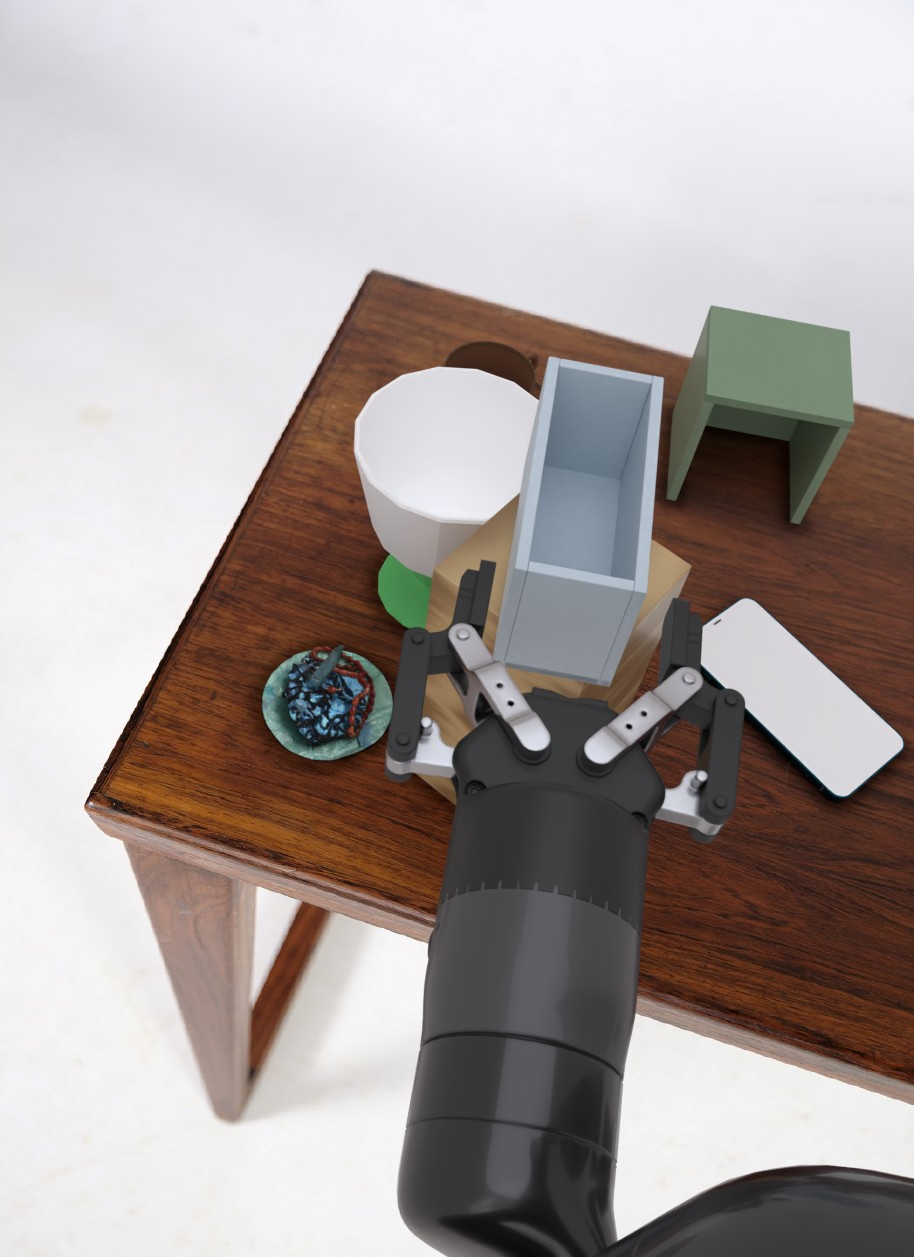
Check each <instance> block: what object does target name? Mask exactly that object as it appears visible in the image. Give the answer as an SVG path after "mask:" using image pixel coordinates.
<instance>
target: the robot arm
mask: <svg viewBox="0 0 914 1257" xmlns="http://www.w3.org/2000/svg"><path fill="white" fill-rule="evenodd" d="M496 563H497V562H493V561H488V560H483V559H481V563H480V568H479V571H477V570H472V569H467V570H466V571H465V573H464V574H463V575H462V577H461V581H460V586H459V591H458V596H457V601H456V606H455V610H454V615H453V620H452V623H451V625H450V626H449V627H448V628H447V629H445V630H443V631H440V632H431V633H429V631H427V630H426V629H424V628H421V627H413V628H407V630H406V631H405V632H404V634H403V636H402V642H401V649H400V653H399V654H400V655H399V662H398V668H397V674H396V681H395V688H394V695H393V699H392V701H393V707H392V713H391V719H390V722H389V725H388V727H389V728H388V733H387V739H386V740H387V741H386V747H385V748H386V749H385V756H384V758H385V759H384V765H383V771H384V774H385V776H386V777H387V778H388V779H389V780H390V781H392V782H394V783H404V782H407V781H409V780H410V779H411V778H412V777H413V775H414V774H416V773H418V774H425V775H432V776H439V777H446V778H451V781H452V784H453V786H454V788H455V792H456V799H457V800H456V806H455V808H454V814H453V817H452V818H453V819H452V825H451V830H450V835H449V841H448V847H447V852H446V859H445V863H444V869H443V874H442V880H441V885H440V891H439V897H438V904H437V908H436V913H435V919H434V926H433V930H432V931H431V933H430V935H429V939H428V944H427V964H426V969H425V976H424V984H423V995H422V1021H421V1022H422V1023H421V1034H420V1044H419V1051H418V1056H417V1060H416V1061H417V1062H416V1066H415V1074H414V1078H413V1084H412V1089H411V1094H410V1099H409V1100H410V1101H409V1105H408V1112H407V1117H406V1124H405V1129H404V1135H403V1142H402V1146H401V1152H400V1153H401V1154H400V1159H399V1166H398V1172H397V1181H396V1183H397V1184H396V1203H397V1208H398V1212H399V1215H400V1218H401V1220H402V1222H403V1224H404V1225H405V1227H406V1228H407V1229H408V1230H409V1231H410V1232H411V1233H412V1235H414V1236H415V1237H416V1238H417V1239H419V1240H420V1241H421V1242H423V1243H425V1244H426V1245H427V1246H428V1247H430V1248H432V1249H433V1250H435V1251H437V1252H439V1253H440V1254H442V1255H444V1256H445V1257H914V1177H909V1176H904V1175H899V1174H895V1173H890V1172H886V1171H880V1170H876V1169H868V1168H860V1167H851V1166H850V1167H849V1166H843V1165H842V1166H840V1165H832V1164H797V1165H796V1164H795V1165H789V1166H781V1167H773V1168H768V1169H763V1170H759V1171H754V1172H751V1173H747V1174H742V1175H740V1176H736V1177H733V1178H729V1179H727V1180H723V1181H721V1182H720V1183H718V1184H715V1185H714V1186H711V1187H709V1188H706V1189H704V1190H702V1191H700V1192H698V1193H697V1194H695V1195H694V1196H692V1197H690V1198H688V1199H687V1200H685V1201H683V1202H681V1203H679V1204H678V1205H676V1206H674V1207H672V1208H670V1209H669V1210H667V1211H666V1212H664V1213H662V1214H660V1215H659V1216H657V1217H655V1218H654V1219H652V1220H651V1221H649V1222H647V1223H645V1224H643V1225H642V1226H640V1227H639V1228H637V1229H635V1230H634V1231H632V1232H630V1233H628V1234H626V1235H625V1236H623V1237H621V1238H620V1239H619V1238H618V1232H617V1225H616V1218H615V1209H614V1207H615V1206H614V1204H615V1203H614V1200H615V1199H614V1198H615V1189H616V1188H615V1187H616V1176H617V1163H618V1155H619V1144H620V1143H619V1142H620V1129H621V1117H622V1102H623V1092H624V1091H623V1090H624V1083H623V1082H624V1078H625V1070H626V1063H627V1058H628V1053H629V1048H630V1044H631V1040H632V1036H633V1030H634V1025H635V1021H636V1020H635V1019H636V1012H637V1006H638V993H639V979H640V978H639V977H640V964H641V951H642V938H643V925H644V913H645V912H644V911H645V898H646V884H647V883H646V882H647V872H648V870H647V869H648V857H649V856H648V855H649V843H650V832H651V831H650V830H651V826H652V823H653V822H654V821H655V820H656V819H657V820H661V821H664V822H665V821H666V822H669V823H673V824H677V825H682V826H684V827H687V829H688V832H689V834H690V836H691V837H692V839H694V840H695V841H697V842H699V843H702V844H709V843H712V842H713V841H715V840H716V838H717V837H718V835H719V834H720V833H721V831H722V829H723V828H724V826H725V825H726V823H727V822H728V821H729V819H730V817H731V816H732V815H733V813H734V812H735V810H736V804H737V796H738V783H739V772H740V764H741V752H742V744H743V743H742V742H743V732H744V731H743V730H744V724H745V723H744V722H745V721H744V720H745V717H744V713H745V699H744V697H743V696H742V694H741V693H739V692H738V691H736V690H734V689H730V688H727V689H723V690H719V689H717V688H715V687H714V686H713V685H712V684H709V683H708V682H707V681H706V679H705V678H704V676H703V675H702V674H701V652H702V632H703V624H704V623H703V621H702V619H701V616H700V614H699V613H693V612H691V600H688V599H683V598H679V597H678V598H673V599H672V601H671V604H670V606H669V608H668V611H667V613H666V615H665V618H664V621H663V626H662V635H661V638H660V650H659V664H658V677H657V687H655V689H653V690H648V691H645V693H644V694H643V695H641V696H640V697H639V698H638V699H637V700H635V701H634V702H632V704H631V706H630V707H629V708H627V709H626V710H625V711H624V712H623V713H621V714H620V715H619V714H618V713H617V712H615V711H614V710H612V709H611V708H609V707H608V701H603V700H598V699H593V698H568V697H565V696H563V695H561V694H559V693H556V692H554V691H552V690H547V689H542V688H537V687H533V688H532V692H527V693H522V694H521V692H520V691H519V689H518V688H517V686H516V684H515V683H514V681H513V680H512V678H511V676H510V675H509V673H508V672H507V670H506V668H505V667H504V665H503V664H502V663H501V662H500V661H495V660H494V659H493V657H492V656H491V654H490V652H489V651H488V649H487V648H486V646H485V644H484V643H483V641H482V638H483V633H484V629H485V624H486V618H487V613H488V607H489V602H490V596H491V591H492V585H493V580H494V574H495V569H496ZM444 673H446V675H447V676H448V678H449V680H450V681H451V683H452V685H453V686H454V688H455V690H456V691H457V693H458V695H459V696H460V698H461V700H462V702H463V706H464V711H465V714H466V716H467V718H468V720H469V721H470V723H471V725H472V727H473V728H474V729H473V730H472V731H471V732H469V733H468V734H467V735H466V736H465V737H463V738H462V739H461V740H460V741H459V742H458V743H457V745H456V747H451V746H449V745H447V744H446V743H444V741H443V740H442V739H441V736H440V728H439V726H438V724H437V723H436V722H435V721H434V720H432V719H431V718H430V717H427V716H425V717H422V713H423V705H424V698H425V691H426V683H427V676H428V675H434V674H444ZM683 720H684V721H685V722H686V723H689V724H691V725H693V726H695V727H697V728H699V734H698V735H699V736H698V743H697V750H696V751H697V752H696V759H695V768H694V770H690V771H687V772H686V773H685V774H684V775H683V777H682V778H681V779H680V783H679V784H678V786H676V787H674V788H666V786H665V782H664V780H663V778H662V776H661V775H660V773H659V772H658V770H657V768H656V767H655V766H654V764H653V762H652V761H651V759H650V757H649V756H648V754H649V753H650V752H652V750H653V749H654V748H655V747H656V745H657V744H658V743H659V742H660V740H661V739H663V738H664V737H665V736H666V735H668V733H670V731H672V730H673V729H674V728H675V727H676V726H677V725H678V724H680V723H681V722H682V721H683Z"/></svg>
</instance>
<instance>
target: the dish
mask: <svg viewBox="0 0 914 1257" xmlns="http://www.w3.org/2000/svg"><path fill="white" fill-rule="evenodd" d="M344 649H345V645H343V644H342V645H339V646H336V647H334V648H331V647H330V646H328V645H325V646H315V647H313V648H311V650H307V651H302V652H299V653H296V654H294V655H292V656H291V657H290V658H288V659H286V660H285V661H283V662H282V663H281V664H280V665H279V666H278V667H276V669H275V670H274V671H272V673H271V674H270V676H269V678H268V680H267V682H266V684H265V686H264V689H263V693H262V702H261V707H262V713H263V718H264V720H265V723H266V725H267V727H268V728H269V730H270V731H271V733H272V734H273V736H274V737H275V739H276V740H278V742H279V743H280V744H281V745H282V746H283V747H284V748H285V749H286V750H288V751H290V752H292V753H294V754H296V755H298V756H301V757H304V758H307V759H309V760H316V761H317V760H318V761H334V760H338V759H343V758H347V757H349V756H351V755H353V754H356V753H358V752H361V751H363V750H366V749H367V748H368V747H371V746H372V745H373V744H375V743H376V742H377V741H378V740H379V739H380V738H382V736H383V735H384V733H385V731H386V730H387V729H388V727H389V725H390V720H391V713H392V707H393V695H392V691H391V688H390V685H389V683H388V681H387V680H386V677H385V676H384V674H383V672H382V671H380V670H379V669H378V668H377V667H376V666H375V665H374V664H373V663H372V662H371V661H369V660H368V659H366V658H365V657H363V656H361V655H358V654H356V653H354V652H350V651H347V650H344Z"/></svg>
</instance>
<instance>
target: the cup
mask: <svg viewBox="0 0 914 1257" xmlns="http://www.w3.org/2000/svg"><path fill="white" fill-rule="evenodd" d="M538 402H539V400H537V399H536V398H535V397H533V396H532V395H531V394H529V393H528V392H526V391H525V390H524V389H522V388H521V387H520V386H518V385H517V384H516V383H514V382H512V381H509V380H507V379H504V378H501V377H498V376H495V375H492V374H490V373H487V372H484V371H481V370H478V369H466V368H450V367H441V366H436V367H435V366H434V367H431V368H425V369H423V370H418V371H414V372H413V371H412V372H409V373H404V374H401V375H400V376H398V377H397V378H395V379H394V380H392V381H391V382H389V383H387V384H386V385H384V386H382V387H381V388H379V389H378V390H376V391H375V392H373V393H372V394H370V396H369V398H368V400H367V401H366V403H365V404H364V406H363V408H362V409H361V411H360V412H359V414H358V416H357V417H356V419H355V420H354V438H353V454H354V457H355V462H356V466H357V470H358V474H359V478H360V482H361V486H362V491H363V494H364V498H365V502H366V506H367V510H368V514H369V518H370V522H371V526H372V528H373V531H374V532H375V534H376V536H377V538H378V540H379V542H380V544H381V546H382V548H383V549H384V550H385V551H386V552H388V553H389V555H387V557H386V559H385V561H384V563H383V564H382V565H381V568H380V569H379V571H378V576H377V578H378V583H377V584H378V585H377V588H378V589H377V594H378V596H379V598H380V600H381V602H382V604H383V606H384V609H385V611H386V612H387V613H388V614H389V615H390V616H392V617H393V618H394V619H395V620H396V621H397V622H398V623H400V624H401V625H402V626H403V627H405V628H407V629H410V628H413V627H421V628H424V629H425V625H426V619H427V612H428V605H429V598H430V591H431V585H432V578H433V571H434V568H435V567H437V566H438V565H439V564H440V563H441V562H442V561H443V560H444V559H446V558H447V557H448V556H449V555H450V554H451V553H452V552H453V551H454V550H456V549H457V548H458V547H459V546H460V545H461V544H462V543H463V542H465V541H466V540H467V539H468V538H469V537H470V536H471V535H472V534H474V533H475V532H476V531H477V530H478V529H479V528H480V527H481V526H483V525H484V524H485V523H486V522H487V521H488V520H489V519H490V518H492V517H493V516H494V515H495V514H496V513H497V512H498V511H499V510H501V509H502V508H503V507H504V506H505V505H506V504H507V503H508V502H510V501H511V500H512V499H513V498H514V497H515V496H516V495H517V494H518V493H520V490H521V484H522V478H523V472H524V466H525V460H526V456H527V451H528V447H529V443H530V438H531V434H532V429H533V425H534V420H535V416H536V411H537V407H538Z"/></svg>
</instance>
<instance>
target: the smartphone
mask: <svg viewBox="0 0 914 1257" xmlns="http://www.w3.org/2000/svg"><path fill="white" fill-rule="evenodd" d="M702 624H703V632H702V652H701V675H702V677H703V678H704V679H705V680H707V681H708V682H709V683H710V685H711V686H713V687H715V688H717V689H719V690H723V689H727V688H730V689H734V690H736V691H738V692H739V693H741V694H742V696H743V697H744V699H745V713H744V719H746V720H747V721H748V722H750V724H751V725H752V726H753V727H754V728H755V729H757V730H758V731H759V733H760V734H762V735H763V737H765V738H766V739H767V740H768V741H769V742H770V744H772V745H773V747H775V748H776V749H777V751H779V752H780V753H781V754H782V755H783V756H784V757H785V758H786V759H787V760H788V761H789V762H790V763H791V764H792V765H793V766H794V767H795V768H796V769H797V771H799V772H800V773H801V774H803V776H805V778H806V779H808V781H809V782H810V783H811V784H813V786H815V788H817V789H818V790H819V791H820V792H821V794H823V795H824V796H825V797H826V798H827V799H828V800H830V801H832V802H834V803H835V802H836V803H843V802H846V801H848V800H849V799H850V798H852V796H854V794H855V793H857V792H858V791H859V790H860V789H861V788H863V786H865V785H866V784H867V783H869V782H870V781H871V780H872V779H873V778H874V777H875V776H876V775H878V774H879V773H880V772H881V771H882V770H883V769H884V768H886V767H887V766H888V765H889V764H891V763H892V762H893V761H894V760H895V759H896V758H897V757H899V756H900V754H901V753H902V752H903V751H904V750H905V746H906V744H905V740H904V737H903V736H902V735H901V734H900V733H899V731H897V729H895V728H894V727H893V725H891V724H890V723H889V722H888V721H887V720H886V719H885V718H883V717H882V716H881V714H879V713H878V712H877V711H876V710H875V709H874V708H873V707H871V705H870V704H868V703H867V702H866V701H865V700H864V699H863V698H862V697H861V696H860V695H859V694H858V693H856V691H855V690H854V689H853V688H851V686H849V685H848V684H847V683H846V682H845V681H844V680H843V679H842V678H841V677H840V676H838V675H837V674H836V673H835V671H833V670H831V669H830V667H828V666H827V665H826V664H825V663H824V662H823V661H822V660H821V659H820V658H818V656H817V655H815V654H814V652H813V651H811V649H809V648H808V647H807V646H806V645H805V644H804V643H803V642H801V641H800V640H799V639H798V637H796V636H795V635H794V634H793V633H792V632H791V631H790V630H789V629H788V628H786V626H784V625H783V624H782V623H781V622H780V621H779V620H777V618H775V616H773V615H772V614H771V612H769V611H768V610H767V609H766V608H765V607H763V605H762V604H761V603H759V602H758V601H757V600H755V599H754V598H751V597H741V598H739V599H737V600H736V601H734V602H733V603H732V604H730V605H729V606H727V607H726V608H724V609H722V610H721V611H720V612H719V613H718V614H716V615H715V616H713V617H712V618H710V619H709V620H707V621H706V622H704V623H702Z"/></svg>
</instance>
